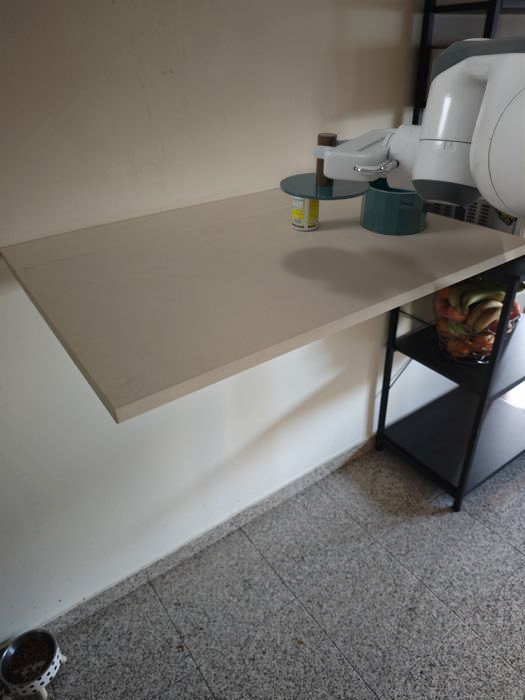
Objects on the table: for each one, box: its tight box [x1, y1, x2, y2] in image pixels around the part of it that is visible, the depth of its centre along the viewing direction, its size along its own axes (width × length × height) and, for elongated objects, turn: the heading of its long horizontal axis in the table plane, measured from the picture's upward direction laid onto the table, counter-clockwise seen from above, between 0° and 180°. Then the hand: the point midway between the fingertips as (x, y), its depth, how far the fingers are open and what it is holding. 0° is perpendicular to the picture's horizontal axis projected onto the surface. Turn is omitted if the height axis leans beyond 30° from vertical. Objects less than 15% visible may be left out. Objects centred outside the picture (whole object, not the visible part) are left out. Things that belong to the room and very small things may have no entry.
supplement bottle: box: [291, 195, 320, 232], centre depth 103 cm, size 6×6×10 cm
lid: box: [279, 132, 370, 201], centre depth 79 cm, size 15×15×9 cm
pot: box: [359, 177, 430, 236], centre depth 105 cm, size 14×14×8 cm
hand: (321, 148), depth 79 cm, fingers closed on lid, 3 cm apart
